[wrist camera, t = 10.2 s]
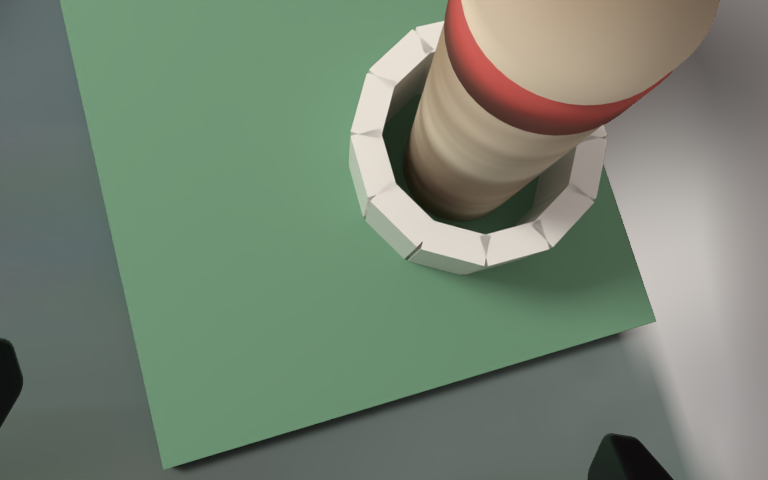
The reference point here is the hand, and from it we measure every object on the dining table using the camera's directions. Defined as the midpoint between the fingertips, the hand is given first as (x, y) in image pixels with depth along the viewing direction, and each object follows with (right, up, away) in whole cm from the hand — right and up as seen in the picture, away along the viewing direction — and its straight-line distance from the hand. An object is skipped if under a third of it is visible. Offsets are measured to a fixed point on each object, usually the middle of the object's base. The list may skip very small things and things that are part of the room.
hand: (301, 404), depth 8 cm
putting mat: (0, +7, +14) cm, 16 cm away
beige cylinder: (+4, +5, +13) cm, 15 cm away
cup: (+4, +5, +13) cm, 15 cm away
